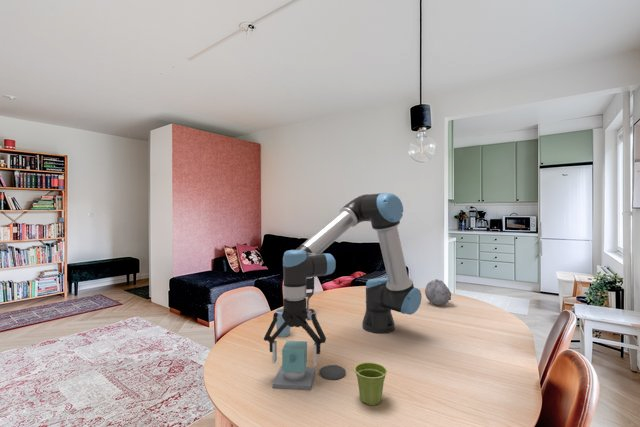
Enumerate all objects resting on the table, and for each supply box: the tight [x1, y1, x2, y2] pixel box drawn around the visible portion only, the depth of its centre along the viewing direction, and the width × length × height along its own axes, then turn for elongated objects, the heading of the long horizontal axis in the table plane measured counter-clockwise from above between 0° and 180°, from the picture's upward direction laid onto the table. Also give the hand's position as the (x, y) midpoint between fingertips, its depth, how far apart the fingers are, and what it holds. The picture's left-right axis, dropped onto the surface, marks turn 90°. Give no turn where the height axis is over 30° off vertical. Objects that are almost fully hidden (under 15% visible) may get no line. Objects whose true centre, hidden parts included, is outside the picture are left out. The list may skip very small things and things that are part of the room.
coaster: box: [318, 364, 347, 381], centre depth 107 cm, size 9×9×1 cm
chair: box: [305, 277, 315, 320], centre depth 170 cm, size 13×17×22 cm
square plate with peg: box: [272, 365, 316, 391], centre depth 104 cm, size 12×12×9 cm
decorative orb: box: [424, 278, 452, 306], centre depth 187 cm, size 15×14×15 cm
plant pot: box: [353, 361, 388, 406], centre depth 92 cm, size 9×9×9 cm
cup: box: [274, 308, 291, 338], centre depth 142 cm, size 8×8×10 cm
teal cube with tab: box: [281, 340, 308, 372], centre depth 103 cm, size 9×7×7 cm
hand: (294, 362), depth 104 cm, fingers open, 13 cm apart
